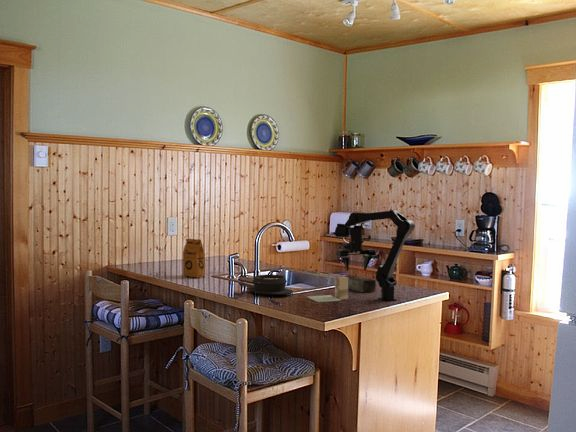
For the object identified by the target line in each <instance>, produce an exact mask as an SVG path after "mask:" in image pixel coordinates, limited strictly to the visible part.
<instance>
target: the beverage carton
mask: <svg viewBox="0 0 576 432" xmlns="http://www.w3.org/2000/svg"><path fill="white" fill-rule="evenodd" d="M344 276H345V277H348V290H352V291H356V292H360V293H363V294H364V293H365V294H367V293H375V292H376V285H377V280H376V279H372V278H366V277H361V276H358V275H348V274H346V275H344Z"/></svg>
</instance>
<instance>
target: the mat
mask: <svg viewBox="0 0 576 432" xmlns="http://www.w3.org/2000/svg"><path fill="white" fill-rule="evenodd" d="M306 298H307V299H310V300H312V301H314V302H316V303H326V302H327V303H329V302H342V299H341V300H340V299H338V298H336V297H335V296H333V295H330V294H328V295H327V294H326V295H312V296H307V297H306Z"/></svg>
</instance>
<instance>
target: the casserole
mask: <svg viewBox="0 0 576 432" xmlns="http://www.w3.org/2000/svg"><path fill="white" fill-rule="evenodd" d="M252 283H253V286H248V287H246V288H245V289H246V290H247V291H251V292H252V293H255V294H257V295H260V296H269V297H272V296H273V297H274V296H279V295H280V296H281V295H289V294H292V293H294V290H293V289H289V288H287V287H286V284H287V283H288V282H287V279H286V277H285V276H284V275H281V274H280V275H279V274H259V275H254V278H253V279H252Z"/></svg>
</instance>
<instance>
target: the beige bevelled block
mask: <svg viewBox="0 0 576 432" xmlns="http://www.w3.org/2000/svg"><path fill="white" fill-rule="evenodd" d="M345 276H346V275H335V276H334V297H336V298H338V299H340V300H341V301H342V300H349V289H348V277H345Z"/></svg>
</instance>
